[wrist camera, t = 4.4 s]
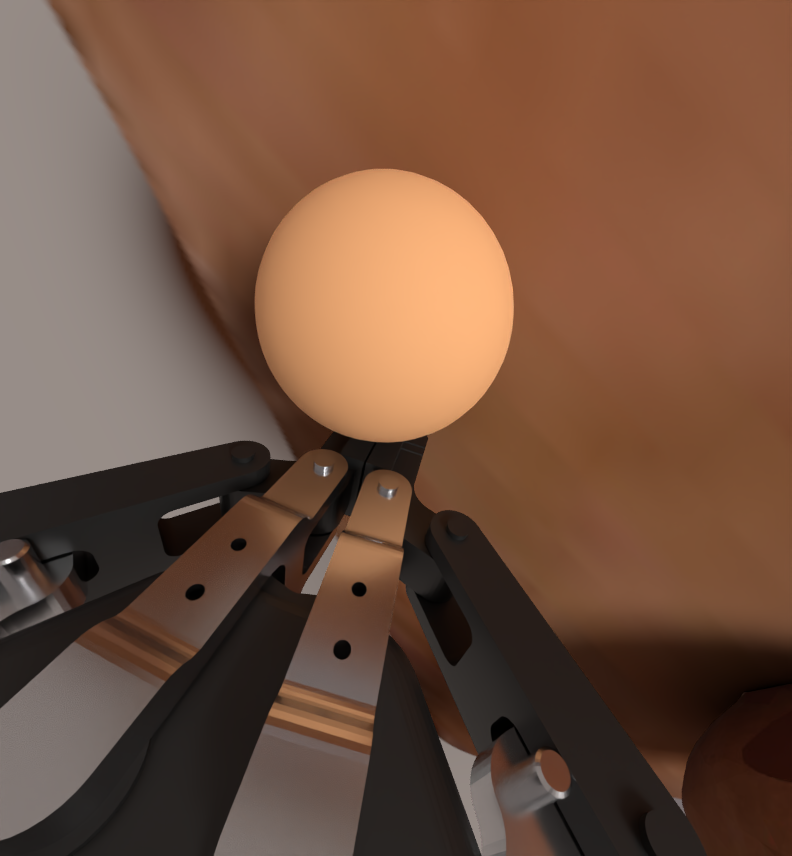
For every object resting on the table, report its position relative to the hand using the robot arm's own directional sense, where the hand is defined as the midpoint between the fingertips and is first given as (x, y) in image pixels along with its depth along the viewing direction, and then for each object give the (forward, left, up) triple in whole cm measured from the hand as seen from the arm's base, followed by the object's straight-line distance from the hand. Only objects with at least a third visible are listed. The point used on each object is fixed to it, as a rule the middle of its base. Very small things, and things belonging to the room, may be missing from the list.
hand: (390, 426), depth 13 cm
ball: (-4, -1, +2) cm, 5 cm away
